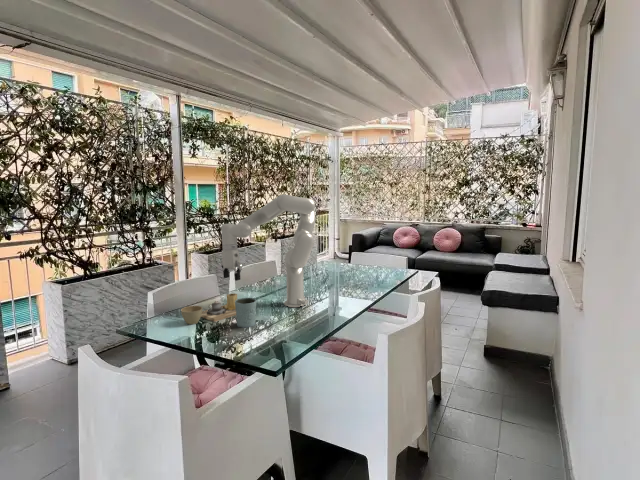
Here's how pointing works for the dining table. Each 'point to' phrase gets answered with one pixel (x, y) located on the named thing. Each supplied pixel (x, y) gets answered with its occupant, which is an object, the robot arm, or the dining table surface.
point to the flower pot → (191, 314)
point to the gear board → (217, 312)
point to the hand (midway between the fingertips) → (232, 278)
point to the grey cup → (245, 312)
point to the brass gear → (230, 302)
